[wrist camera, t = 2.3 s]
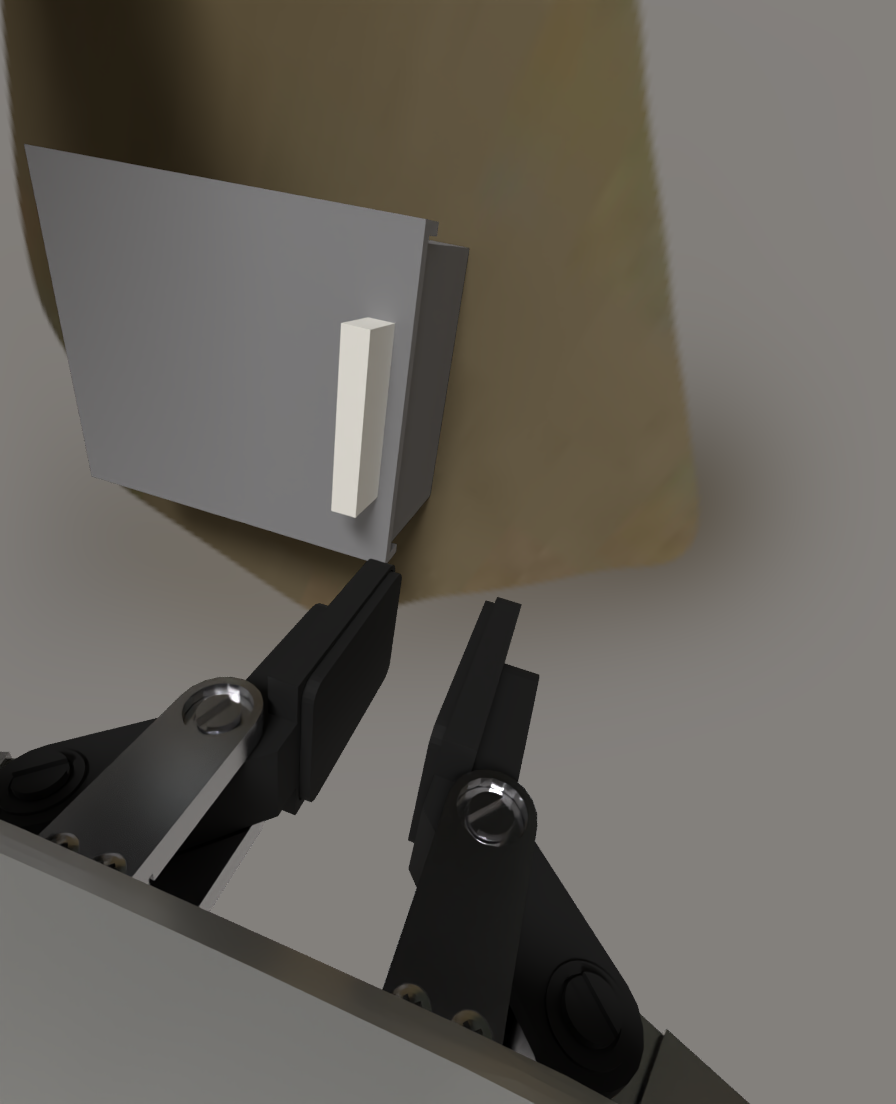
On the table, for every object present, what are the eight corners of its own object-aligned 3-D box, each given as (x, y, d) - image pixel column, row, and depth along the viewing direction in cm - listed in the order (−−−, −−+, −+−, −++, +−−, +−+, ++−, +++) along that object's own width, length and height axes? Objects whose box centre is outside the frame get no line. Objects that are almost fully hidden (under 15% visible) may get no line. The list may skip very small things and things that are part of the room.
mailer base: (164, 188, 30) (51, 170, 24) (469, 248, 27) (425, 243, 21) (187, 428, 37) (104, 459, 31) (430, 495, 34) (389, 544, 28)
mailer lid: (57, 150, 24) (-38, 131, 21) (438, 222, 21) (402, 214, 18) (114, 467, 32) (52, 492, 29) (395, 552, 29) (365, 590, 26)
